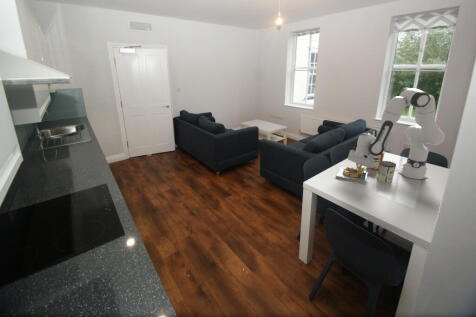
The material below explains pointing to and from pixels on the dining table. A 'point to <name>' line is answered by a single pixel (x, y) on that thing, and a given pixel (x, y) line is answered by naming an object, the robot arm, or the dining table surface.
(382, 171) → the coffee can
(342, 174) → the base plate
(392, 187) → the dining table surface
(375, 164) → the baking soda box
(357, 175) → the ring nut
